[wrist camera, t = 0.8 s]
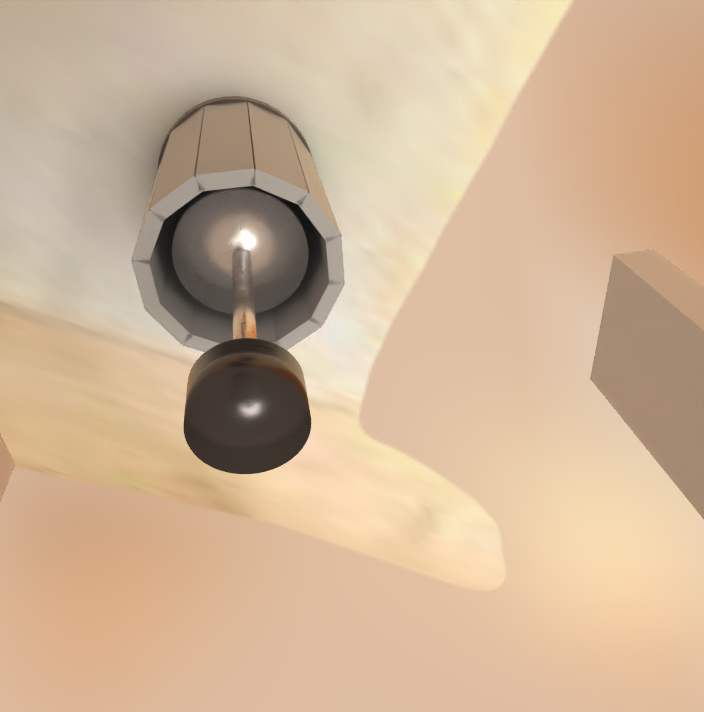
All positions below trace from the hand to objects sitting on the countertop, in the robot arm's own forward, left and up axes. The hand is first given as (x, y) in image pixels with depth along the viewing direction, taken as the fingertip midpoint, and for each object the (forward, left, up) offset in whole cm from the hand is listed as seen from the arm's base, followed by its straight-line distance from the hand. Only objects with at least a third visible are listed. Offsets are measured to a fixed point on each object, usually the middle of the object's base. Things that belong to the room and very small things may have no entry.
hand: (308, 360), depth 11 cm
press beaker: (+9, -2, -36) cm, 37 cm away
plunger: (+8, -2, -23) cm, 25 cm away
